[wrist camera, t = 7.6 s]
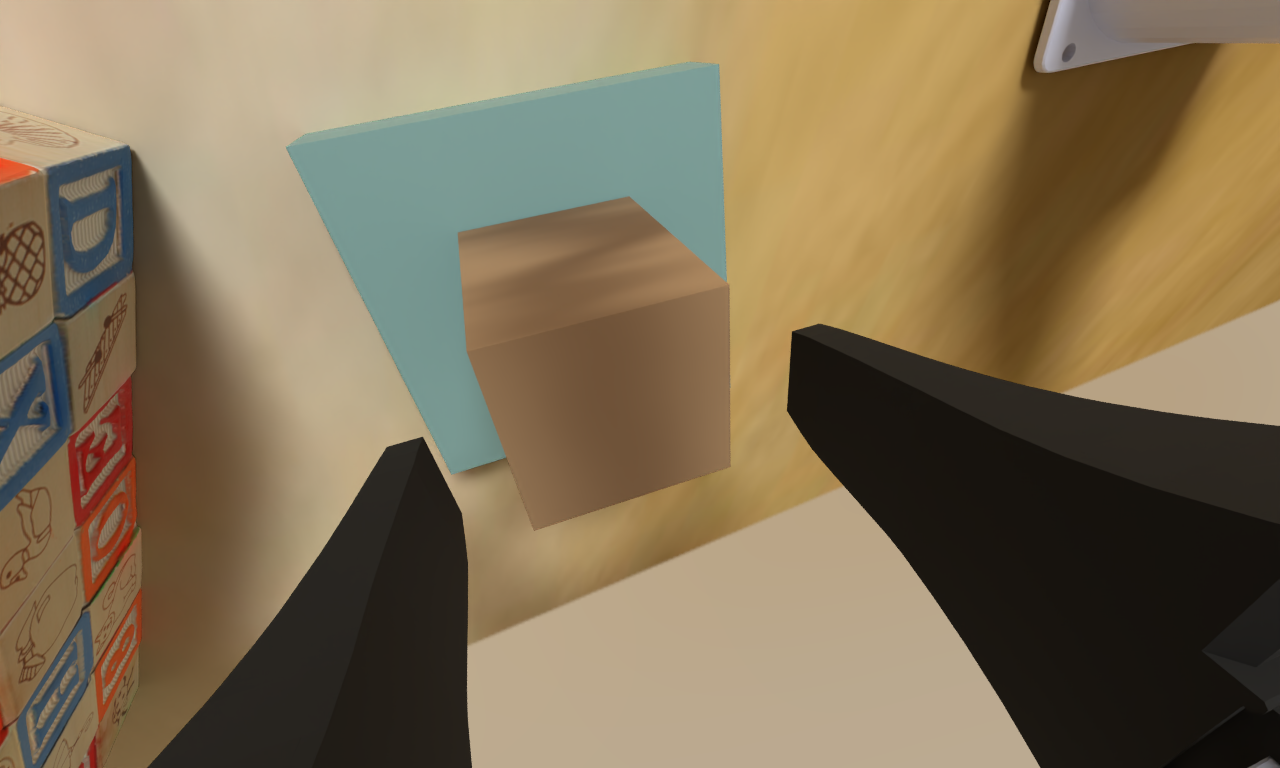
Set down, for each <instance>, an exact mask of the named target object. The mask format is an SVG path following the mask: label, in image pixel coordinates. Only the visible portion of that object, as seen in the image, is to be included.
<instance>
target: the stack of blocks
mask: <svg viewBox="0 0 1280 768" xmlns="http://www.w3.org/2000/svg"><path fill="white" fill-rule="evenodd" d="M132 262H133V210H132V161H131V152H130V147H129V145H127V144H125V143H123V142H120V141H116V140H113V139H109V138H106V137H102V136H99V135H95V134H92V133H88V132H85V131H82V130H79V129H76V128H73V127H69V126H66V125H63V124H59V123H56V122H52V121H49V120H46V119H42V118H39V117H36V116H32V115H29V114H26V113H22V112H19V111H16V110H12V109H9V108H6V107H3V106H0V768H102V767H103V766H104V764H105V763H106V760H107V758H108V756H109V753H110V751H111V749H112V746H113V744H114V742H115V740H116V737H117V735H118V733H119V731H120V728H121V726H122V724H123V722H124V719H125V717H126V715H127V712H128V710H129V708H130V705H131V703H132V701H133V698H134V696H135V694H136V692H137V689H138V687H139V644H140V642H141V639H142V611H141V596H142V590H141V582H142V580H141V577H142V542H141V537H142V533H141V528H140V527H138V526H137V525H136V517H137V511H136V500H135V497H136V461H135V458H134V457H133V455H132V448H133V447H132V433H133V421H132V405H131V402H132V391H131V384H132V381H131V374H132V373H133V372H134V370H135V369H136V286H135V277H134V272H133V269H132Z"/></svg>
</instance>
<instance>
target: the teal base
mask: <svg viewBox="0 0 1280 768" xmlns="http://www.w3.org/2000/svg"><path fill="white" fill-rule="evenodd" d="M286 149H287V151H288V153H289V155H290V157H291V159H292V161H293V163H294V165H295V167H296V169H297V171H298V173H299V174H300V176H301V178H302V180H303V182H304V184H305V186H306V188H307V190H308V192H309V194H310V196H311V198H312V200H313V202H314V204H315V206H316V208H317V210H318V212H319V214H320V216H321V218H322V220H323V222H324V224H325V226H326V228H327V230H328V232H329V234H330V236H331V238H332V240H333V242H334V244H335V246H336V247H337V249H338V251H339V253H340V255H341V257H342V259H343V261H344V263H345V265H346V267H347V269H348V271H349V273H350V275H351V277H352V279H353V281H354V283H355V285H356V287H357V289H358V291H359V293H360V295H361V297H362V299H363V301H364V303H365V305H366V307H367V309H368V311H369V313H370V315H371V317H372V319H373V321H374V322H375V324H376V326H377V328H378V330H379V332H380V334H381V336H382V338H383V340H384V342H385V344H386V346H387V348H388V350H389V352H390V354H391V356H392V358H393V360H394V362H395V364H396V366H397V368H398V370H399V372H400V374H401V376H402V378H403V380H404V382H405V384H406V386H407V388H408V390H409V392H410V394H411V395H412V397H413V399H414V401H415V403H416V405H417V407H418V409H419V411H420V413H421V415H422V417H423V419H424V421H425V423H426V425H427V427H428V429H429V431H430V433H431V435H432V437H433V439H434V441H435V443H436V445H437V447H438V449H439V451H440V453H441V455H442V457H443V459H444V461H445V463H446V465H447V467H448V469H449V470H450V472H451V474H455V473H458V472H462V471H465V470H468V469H471V468H474V467H478V466H481V465H484V464H487V463H490V462H494V461H497V460H500V459H503V458H506V455H505V452H504V450H503V447H502V444H501V442H500V439H499V436H498V434H497V431H496V428H495V426H494V423H493V420H492V418H491V415H490V412H489V410H488V407H487V404H486V402H485V399H484V397H483V394H482V391H481V389H480V386H479V383H478V381H477V378H476V375H475V373H474V370H473V367H472V365H471V362H470V359H469V357H468V354H467V350H466V337H465V324H464V311H463V297H462V284H461V271H460V258H459V244H458V232H462V231H467V230H472V229H476V228H481V227H486V226H491V225H495V224H500V223H505V222H510V221H514V220H519V219H524V218H529V217H533V216H538V215H543V214H548V213H552V212H557V211H562V210H567V209H571V208H576V207H581V206H586V205H590V204H595V203H600V202H605V201H609V200H614V199H619V198H624V197H628V196H630V197H631V198H632V199H633V200H634V201H635V202H636V203H637V204H639V205H640V206H641V207H642V208H643V209H644V210H645V211H647V212H648V213H649V214H650V215H651V216H652V217H653V218H654V219H656V220H657V221H658V222H659V223H660V224H661V225H662V226H663V227H665V228H666V229H667V230H668V231H669V232H670V233H671V234H672V235H674V236H675V237H676V238H677V239H678V240H679V241H680V242H682V243H683V244H684V245H685V246H686V247H687V248H688V249H689V250H691V251H692V252H693V253H694V254H695V255H696V256H697V257H698V258H700V259H701V260H702V261H703V262H704V263H705V264H706V265H707V266H709V267H710V268H711V269H712V270H713V271H714V272H715V273H717V274H718V275H719V276H720V277H721V278H722V279H723V280H724V281H726V282H727V276H726V247H725V219H724V190H723V162H722V133H721V104H720V76H719V64H711V63H698V62H686V63H680V64H675V65H670V66H664V67H659V68H654V69H649V70H643V71H638V72H633V73H627V74H622V75H617V76H611V77H606V78H601V79H595V80H590V81H585V82H579V83H574V84H569V85H563V86H558V87H553V88H548V89H542V90H537V91H532V92H526V93H521V94H516V95H510V96H505V97H500V98H494V99H489V100H484V101H478V102H473V103H468V104H462V105H457V106H452V107H446V108H441V109H436V110H431V111H425V112H420V113H415V114H409V115H404V116H399V117H393V118H388V119H383V120H377V121H372V122H367V123H361V124H356V125H351V126H345V127H340V128H335V129H330V130H324V131H319V132H314V133H308V134H305V135H303V136H302V137H300V138H299V139H297V140H296V141H294V142H293V143H291V144H289V145H288V146H286Z"/></svg>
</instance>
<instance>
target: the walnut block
mask: <svg viewBox="0 0 1280 768" xmlns="http://www.w3.org/2000/svg"><path fill="white" fill-rule="evenodd" d="M458 244H459V258H460V271H461V284H462V297H463V311H464V324H465V337H466V350H467V354H468V357H469V359H470V362H471V365H472V367H473V370H474V373H475V375H476V378H477V381H478V383H479V386H480V389H481V391H482V394H483V397H484V399H485V402H486V404H487V407H488V410H489V412H490V415H491V418H492V420H493V423H494V426H495V428H496V431H497V434H498V436H499V439H500V442H501V444H502V447H503V450H504V452H505V455H506V458H507V460H508V463H509V466H510V468H511V471H512V474H513V476H514V479H515V481H516V484H517V487H518V489H519V492H520V495H521V497H522V500H523V503H524V505H525V508H526V511H527V513H528V516H529V519H530V521H531V524H532V527H533V529H534V531H535V530H538V529H541V528H544V527H547V526H550V525H553V524H556V523H559V522H562V521H565V520H568V519H571V518H575V517H578V516H581V515H584V514H587V513H590V512H593V511H596V510H599V509H602V508H605V507H608V506H611V505H615V504H618V503H621V502H624V501H627V500H630V499H633V498H636V497H639V496H642V495H645V494H648V493H651V492H654V491H658V490H661V489H664V488H667V487H670V486H673V485H676V484H679V483H682V482H685V481H688V480H691V479H694V478H698V477H701V476H704V475H707V474H710V473H713V472H716V471H719V470H722V469H725V468H728V467H730V300H729V284H728V283H727V282H726V281H724V280H723V279H722V278H721V277H720V276H719V275H718V274H717V273H715V272H714V271H713V270H712V269H711V268H710V267H709V266H707V265H706V264H705V263H704V262H703V261H702V260H701V259H700V258H698V257H697V256H696V255H695V254H694V253H693V252H692V251H691V250H689V249H688V248H687V247H686V246H685V245H684V244H683V243H682V242H680V241H679V240H678V239H677V238H676V237H675V236H674V235H672V234H671V233H670V232H669V231H668V230H667V229H666V228H665V227H663V226H662V225H661V224H660V223H659V222H658V221H657V220H656V219H654V218H653V217H652V216H651V215H650V214H649V213H648V212H647V211H645V210H644V209H643V208H642V207H641V206H640V205H639V204H637V203H636V202H635V201H634V200H633V199H632V198H631V197H630V196H628V197H624V198H619V199H614V200H609V201H605V202H600V203H595V204H590V205H586V206H581V207H576V208H571V209H567V210H562V211H557V212H552V213H548V214H543V215H538V216H533V217H529V218H524V219H519V220H514V221H510V222H505V223H500V224H495V225H491V226H486V227H481V228H476V229H472V230H467V231H462V232H458Z"/></svg>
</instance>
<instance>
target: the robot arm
mask: <svg viewBox="0 0 1280 768" xmlns="http://www.w3.org/2000/svg"><path fill="white" fill-rule="evenodd" d="M1191 43H1280V0H1051V1H1050V4H1049V8H1048V11H1047V15H1046V18H1045V22H1044V25H1043V29H1042V32H1041V36H1040V39H1039V43H1038V46H1037V50H1036V53H1035V57H1034V69H1035V70H1036V71H1037V72H1042V73H1052V72H1057V71H1062V70H1066V69H1071V68H1076V67H1081V66H1086V65H1090V64H1095V63H1100V62H1105V61H1110V60H1114V59H1119V58H1124V57H1129V56H1134V55H1138V54H1143V53H1148V52H1153V51H1158V50H1162V49H1167V48H1172V47H1177V46H1182V45H1186V44H1191ZM787 412H788V413H789V415H790V416H791V418H792V419H793V421H794V423H795V424H796V426H797V427H798V429H799V431H800V432H801V434H802V435H803V437H804V438H805V439H806V441H807V442H808V444H809V445H810V447H811V448H812V450H813V451H814V452H815V453H816V454H817V456H818V457H819V458H820V459H821V460H822V461H823V463H824V464H825V465H826V466H827V467H828V468H829V469H830V471H831V472H832V473H833V474H834V475H835V476H836V478H837V479H838V480H839V481H840V482H841V483H842V484H843V485H844V487H845V488H846V489H847V490H848V491H849V492H850V493H851V494H852V496H853V497H854V498H855V499H856V500H857V501H858V502H859V503H860V504H861V506H862V507H863V508H864V509H865V510H866V511H867V513H868V514H869V515H870V516H871V517H872V518H873V519H874V520H875V522H877V524H878V525H879V526H880V527H881V528H882V529H883V531H884V532H885V533H886V534H887V535H888V536H889V537H890V539H891V540H892V541H893V543H894V544H895V545H896V546H897V548H898V549H899V550H900V551H901V553H902V554H903V555H904V557H905V558H906V559H907V561H908V562H909V563H910V565H911V566H912V568H913V569H914V571H915V572H916V573H917V575H918V576H919V578H920V579H921V580H922V582H923V583H924V584H925V586H926V587H927V589H928V590H929V591H930V593H931V594H932V596H933V597H934V599H935V600H936V602H937V603H938V604H939V606H940V607H941V609H942V610H943V612H944V613H945V615H946V616H947V618H948V619H949V621H950V622H951V624H952V625H953V627H954V628H955V630H956V631H957V632H958V634H959V635H960V637H961V638H962V640H963V641H964V643H965V644H966V646H967V647H968V649H969V651H970V652H971V654H972V655H973V657H974V659H975V660H976V662H977V663H978V665H979V666H980V668H981V670H982V671H983V673H984V674H985V676H986V677H987V679H988V681H989V682H990V684H991V685H992V687H993V689H994V690H995V691H996V693H997V695H998V696H999V698H1000V700H1001V701H1002V703H1003V705H1004V706H1005V708H1006V710H1007V711H1008V713H1009V715H1010V716H1011V718H1012V720H1013V721H1014V723H1015V725H1016V727H1017V728H1018V730H1019V732H1020V734H1021V735H1022V737H1023V739H1024V740H1025V742H1026V744H1027V745H1028V747H1029V749H1030V750H1031V752H1032V754H1033V755H1034V757H1035V759H1036V761H1037V762H1038V764H1039V766H1040V768H1280V426H1274V425H1264V424H1256V423H1247V422H1238V421H1229V420H1220V419H1211V418H1203V417H1195V416H1189V415H1181V414H1174V413H1166V412H1160V411H1154V410H1148V409H1141V408H1136V407H1130V406H1123V405H1117V404H1111V403H1106V402H1100V401H1095V400H1090V399H1084V398H1079V397H1074V396H1070V395H1065V394H1061V393H1056V392H1052V391H1047V390H1043V389H1038V388H1034V387H1029V386H1025V385H1021V384H1017V383H1013V382H1009V381H1005V380H1001V379H998V378H994V377H990V376H987V375H983V374H980V373H976V372H973V371H969V370H966V369H962V368H959V367H955V366H952V365H949V364H946V363H942V362H939V361H936V360H933V359H930V358H927V357H923V356H920V355H917V354H914V353H911V352H908V351H905V350H902V349H899V348H896V347H893V346H890V345H887V344H884V343H881V342H878V341H875V340H872V339H869V338H866V337H863V336H860V335H857V334H854V333H851V332H848V331H845V330H841V329H838V328H834V327H831V326H827V325H823V324H817V325H813V326H810V327H806V328H803V329H799V330H796V331H792V341H791V357H790V372H789V388H788V404H787ZM467 632H468V560H467V551H466V542H465V534H464V527H463V519H462V513H461V511H460V509H459V507H458V505H457V503H456V501H455V499H454V497H453V495H452V493H451V491H450V489H449V487H448V485H447V483H446V481H445V479H444V477H443V475H442V473H441V471H440V469H439V468H438V466H437V464H436V462H435V460H434V458H433V456H432V454H431V452H430V450H429V448H428V446H427V444H426V442H425V440H424V438H423V437H420V438H417V439H413V440H410V441H406V442H403V443H399V444H396V445H392V446H389V447H387V448H386V449H385V451H384V453H383V454H382V456H381V457H380V459H379V460H378V462H377V464H376V465H375V467H374V469H373V470H372V472H371V473H370V475H369V477H368V478H367V480H366V482H365V483H364V485H363V486H362V488H361V490H360V491H359V493H358V495H357V496H356V498H355V500H354V501H353V503H352V504H351V506H350V508H349V509H348V511H347V513H346V514H345V516H344V517H343V519H342V520H341V522H340V524H339V525H338V527H337V528H336V530H335V531H334V533H333V535H332V536H331V538H330V539H329V541H328V542H327V544H326V545H325V547H324V549H323V550H322V552H321V553H320V555H319V556H318V557H317V559H316V560H315V562H314V563H313V565H312V566H311V567H310V569H309V570H308V572H307V573H306V574H305V576H304V577H303V579H302V580H301V582H300V583H299V584H298V586H297V587H296V589H295V590H294V592H293V593H292V594H291V596H290V597H289V599H288V600H287V602H286V603H285V604H284V606H283V607H282V609H281V610H280V611H279V613H278V614H277V615H276V617H275V618H274V619H273V621H272V622H271V623H270V625H269V626H268V627H267V629H266V630H265V631H264V632H263V634H262V635H261V636H260V638H259V639H258V640H257V641H256V643H255V644H254V645H253V647H252V648H251V649H250V650H249V651H248V653H247V654H246V655H245V656H244V658H243V659H242V660H241V661H240V662H239V664H238V665H237V666H236V667H235V669H234V670H233V671H232V672H231V673H230V675H229V676H228V677H227V678H226V680H225V681H224V682H223V683H222V684H221V686H220V687H219V688H218V689H217V690H216V692H215V693H214V694H213V695H212V696H211V697H210V699H209V700H208V701H207V702H206V703H205V704H204V706H203V707H202V708H201V709H200V710H199V711H198V712H197V713H196V714H195V716H194V717H193V718H192V719H191V720H190V721H189V722H188V723H187V724H186V726H185V727H184V728H183V729H182V730H181V731H180V732H179V733H178V734H177V735H176V737H175V738H174V739H173V740H172V741H171V742H170V743H169V744H168V745H167V747H166V748H165V749H164V750H163V751H162V752H161V753H160V754H159V755H158V757H157V758H156V759H155V760H154V761H153V762H152V763H151V764H150V765H149V766H148V768H472V763H471V752H470V740H469V728H468V712H467Z"/></svg>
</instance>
